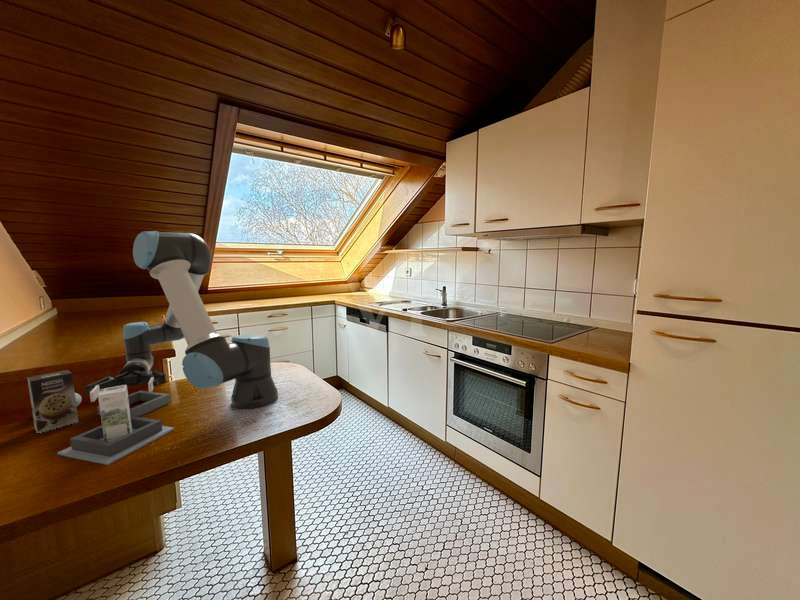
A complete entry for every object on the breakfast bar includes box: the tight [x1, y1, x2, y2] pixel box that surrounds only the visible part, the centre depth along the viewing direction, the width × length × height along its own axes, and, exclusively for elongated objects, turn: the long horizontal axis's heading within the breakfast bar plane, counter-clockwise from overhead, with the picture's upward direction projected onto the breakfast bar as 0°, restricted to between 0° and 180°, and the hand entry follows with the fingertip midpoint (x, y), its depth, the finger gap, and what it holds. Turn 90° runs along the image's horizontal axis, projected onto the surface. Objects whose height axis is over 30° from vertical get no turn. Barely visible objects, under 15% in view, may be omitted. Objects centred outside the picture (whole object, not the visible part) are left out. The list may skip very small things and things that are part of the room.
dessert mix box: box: [27, 369, 80, 434], centre depth 105 cm, size 9×6×16 cm
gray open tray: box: [96, 390, 172, 417], centre depth 117 cm, size 14×14×3 cm
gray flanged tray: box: [57, 416, 175, 466], centre depth 96 cm, size 18×18×4 cm
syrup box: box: [97, 385, 132, 442], centre depth 95 cm, size 6×6×14 cm
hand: (121, 392), depth 102 cm, fingers open, 13 cm apart
